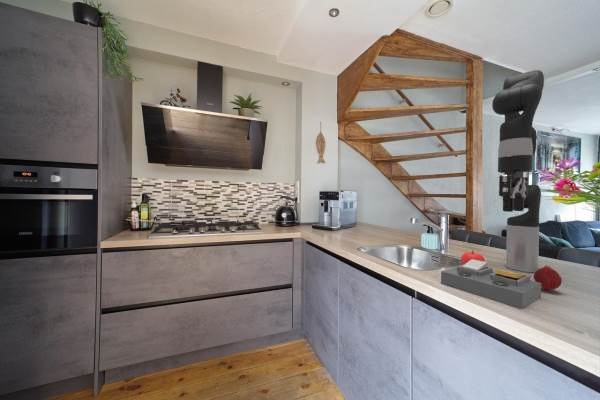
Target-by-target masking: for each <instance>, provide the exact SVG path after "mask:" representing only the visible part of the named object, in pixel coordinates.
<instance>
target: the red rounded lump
mask: <svg viewBox="0 0 600 400" xmlns="http://www.w3.org/2000/svg"><path fill="white" fill-rule="evenodd" d="M533 273H534V274H533V281H535V282H540V283H541V289H543V290H544V291H546V292H549V291H552V290H556V289H558V288H560V287H561V285H562V283H563V281H562V280H563V279H562V276H561V275H560V274H559V273H558V272H557V270H555V269H554V268H552V267H551V266H550V265H549V264H547V263H546V264H544V266H543V267H541V268H538V270H537V271H536V272H533Z"/></svg>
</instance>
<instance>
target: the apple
mask: <svg viewBox="0 0 600 400" xmlns="http://www.w3.org/2000/svg"><path fill="white" fill-rule="evenodd" d="M471 259H474V260H478V261H483V262H486V261H485V258H484V256H483V254H481V253H477V252H474V250H472V251H471V252H468V251H467V252H463V254H462V255H461V257H460V264H461V265H464V264H466V263H467V262H469V261H470V260H471ZM461 265H460V266H461Z"/></svg>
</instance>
